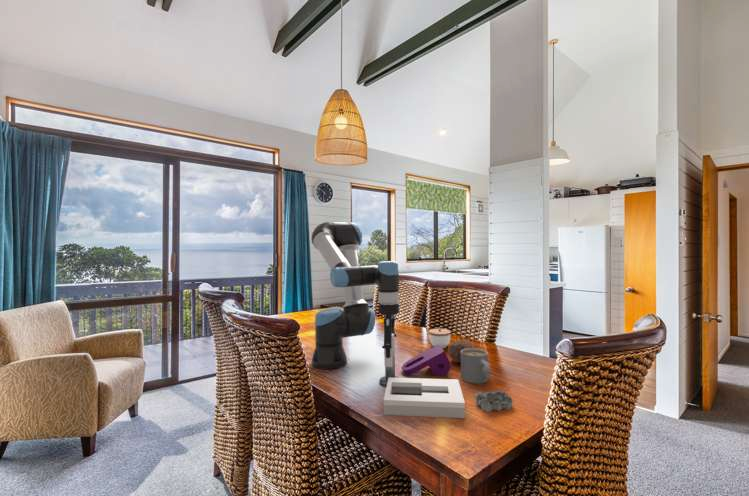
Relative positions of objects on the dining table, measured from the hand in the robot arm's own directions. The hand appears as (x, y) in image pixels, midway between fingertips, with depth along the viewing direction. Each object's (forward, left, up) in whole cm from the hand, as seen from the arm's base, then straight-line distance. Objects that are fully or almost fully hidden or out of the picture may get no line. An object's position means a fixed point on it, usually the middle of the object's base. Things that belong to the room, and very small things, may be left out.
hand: (390, 360), depth 132 cm
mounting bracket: (+13, +12, -9) cm, 20 cm away
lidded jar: (+21, +47, -9) cm, 52 cm away
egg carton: (+34, -16, -9) cm, 38 cm away
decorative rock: (+29, +25, -9) cm, 39 cm away
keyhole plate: (+12, -16, -8) cm, 22 cm away
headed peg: (0, 0, -8) cm, 8 cm away
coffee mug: (+32, +5, -9) cm, 34 cm away
